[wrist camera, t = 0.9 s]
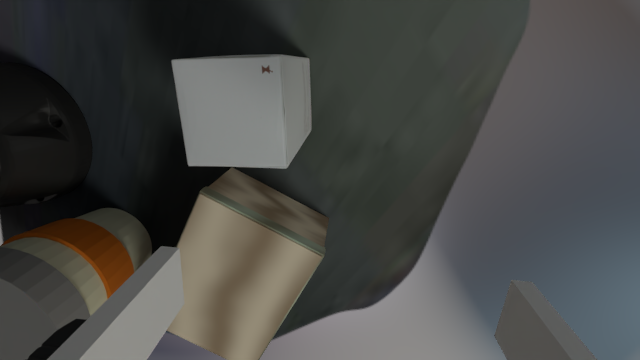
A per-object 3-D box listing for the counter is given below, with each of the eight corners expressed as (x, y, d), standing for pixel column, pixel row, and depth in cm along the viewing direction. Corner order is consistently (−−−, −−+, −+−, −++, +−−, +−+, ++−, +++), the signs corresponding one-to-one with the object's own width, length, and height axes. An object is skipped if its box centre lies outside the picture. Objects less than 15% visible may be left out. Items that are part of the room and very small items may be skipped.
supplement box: (235, 58, 33) (167, 54, 21) (311, 57, 32) (284, 52, 20) (242, 133, 35) (184, 168, 23) (312, 133, 34) (289, 170, 22)
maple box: (182, 274, 42) (143, 320, 34) (231, 165, 36) (198, 191, 29) (269, 317, 42) (251, 372, 35) (330, 217, 37) (324, 256, 30)
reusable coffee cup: (168, 206, 39) (61, 287, 25) (164, 293, 43) (71, 405, 29) (65, 183, 39) (-100, 249, 25) (71, 272, 43) (-66, 372, 29)
